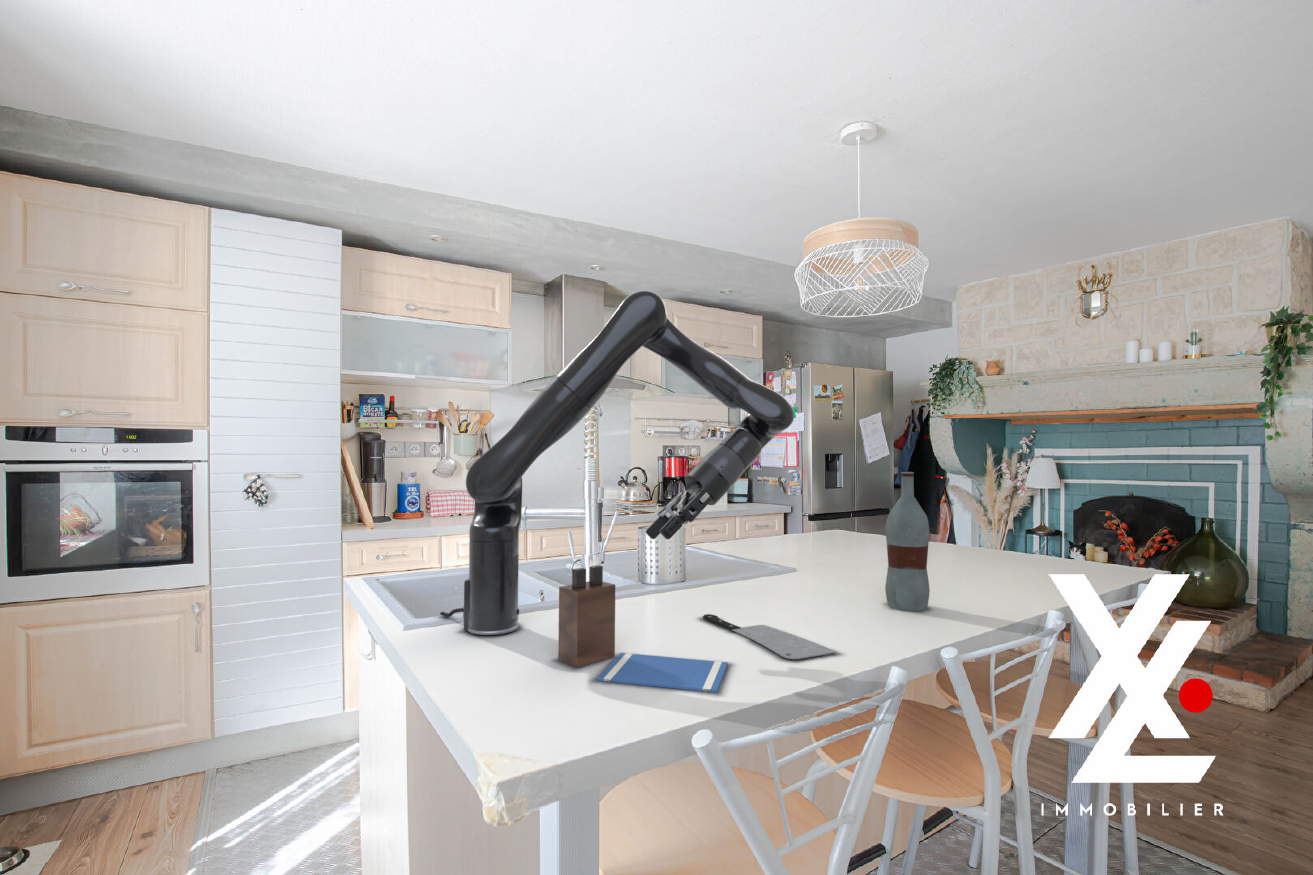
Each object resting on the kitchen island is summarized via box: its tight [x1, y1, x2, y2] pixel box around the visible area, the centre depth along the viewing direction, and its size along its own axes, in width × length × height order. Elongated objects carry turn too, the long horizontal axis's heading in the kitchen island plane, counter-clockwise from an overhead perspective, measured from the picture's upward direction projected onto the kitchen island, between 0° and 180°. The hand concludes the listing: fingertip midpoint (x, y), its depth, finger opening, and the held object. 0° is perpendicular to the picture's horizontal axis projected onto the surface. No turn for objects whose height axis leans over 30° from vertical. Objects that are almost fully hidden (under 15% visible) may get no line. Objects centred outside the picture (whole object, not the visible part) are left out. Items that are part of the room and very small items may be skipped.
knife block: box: [557, 564, 616, 669], centre depth 104 cm, size 5×8×15 cm, turn 135°
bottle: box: [884, 471, 931, 612], centre depth 140 cm, size 9×9×30 cm
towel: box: [597, 652, 728, 694], centre depth 98 cm, size 18×12×1 cm, turn 76°
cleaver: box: [702, 613, 837, 660], centre depth 118 cm, size 29×1×10 cm
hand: (656, 535), depth 112 cm, fingers open, 8 cm apart
